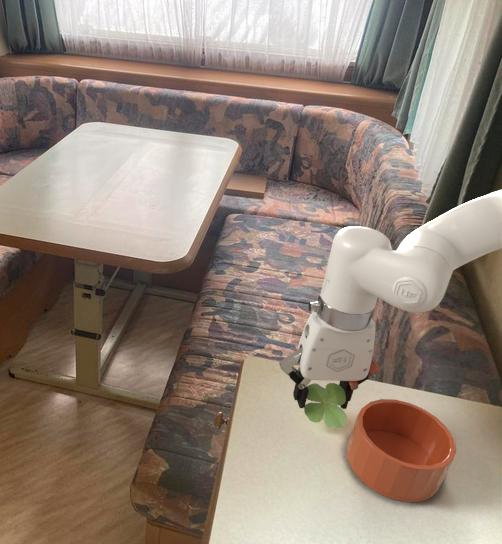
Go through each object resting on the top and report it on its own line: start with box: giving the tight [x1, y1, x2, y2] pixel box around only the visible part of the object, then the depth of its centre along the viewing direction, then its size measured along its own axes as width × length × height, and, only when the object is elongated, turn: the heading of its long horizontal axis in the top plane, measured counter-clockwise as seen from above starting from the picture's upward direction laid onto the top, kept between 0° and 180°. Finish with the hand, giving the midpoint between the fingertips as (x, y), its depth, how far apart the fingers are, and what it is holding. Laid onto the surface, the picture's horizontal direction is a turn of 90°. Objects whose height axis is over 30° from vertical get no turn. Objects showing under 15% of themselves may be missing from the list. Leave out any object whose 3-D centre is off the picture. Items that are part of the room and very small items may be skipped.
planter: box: [346, 398, 457, 503], centre depth 86 cm, size 13×13×7 cm
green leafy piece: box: [303, 382, 348, 429], centre depth 93 cm, size 7×8×7 cm
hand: (320, 401), depth 92 cm, fingers closed on green leafy piece, 6 cm apart
